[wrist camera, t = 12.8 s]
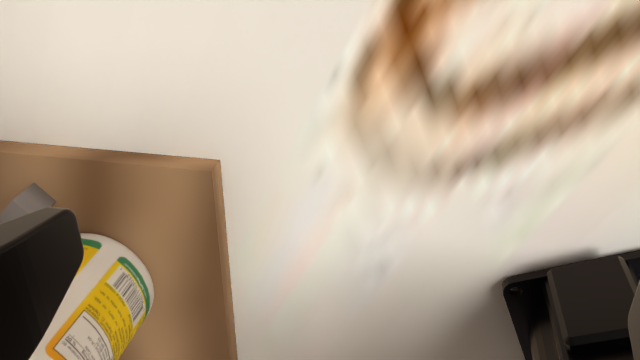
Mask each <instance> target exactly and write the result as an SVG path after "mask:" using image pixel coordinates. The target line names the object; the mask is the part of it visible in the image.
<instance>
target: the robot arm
mask: <svg viewBox="0 0 640 360" xmlns="http://www.w3.org/2000/svg"><path fill="white" fill-rule="evenodd" d="M83 257H84V247H83V243H82V239H81V234H80V230H79V226H78V222H77V218H76V215H75V213H74V212H73V211H72V210H71V209H68V208H59V207H45V208H42V209H40V210H37V211H34V212H31V213H29V214H26V215H23V216H21V217H18V218H15V219H12V220H10V221H7V222H4V223H1V224H0V360H29V359H30V357H31V356H32V354H33V353H34V351H35V350H36V348H37V346H38V345H39V343H40V342H41V340H42V338H43V337H44V335H45V333H46V331H47V329H48V328H49V326H50V324H51V322H52V320H53V318H54V316H55V314H56V312H57V310H58V308H59V306H60V305H61V303H62V301H63V299H64V297H65V295H66V293H67V291H68V289H69V287H70V285H71V283H72V281H73V279H74V277H75V275H76V274H77V272H78V270H79V268H80V266H81V264H82V261H83ZM514 287H518V288H520V290H517V291H512V290H510V289H511V288H514ZM502 288H503V295H504V298H505V301H506V304H507V307H508V310H509V312H510V315H511V318H512V321H513V324H514V327H515V330H516V333H517V336H518V339H519V342H520V344H521V347H522V350H523V353H524V356H525V359H526V360H640V251H635V252H630V253H625V254H620V255H614V256H609V257H604V258H599V259H594V260H589V261H584V262H580V263H575V264H570V265H565V266H560V267H555V268H552V269H547V270H542V271H537V272H532V273H527V274H522V275H517V276H512V277H509V278H507V279H506V280H505V281H504V282H503V284H502Z"/></svg>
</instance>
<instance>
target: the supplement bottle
mask: <svg viewBox="0 0 640 360" xmlns="http://www.w3.org/2000/svg"><path fill="white" fill-rule="evenodd" d="M80 234H81V239H82V243H83V247H84V257H83V261H82V264H81V266H80V268H79V270H78V272H77V274H76V275H75V277H74V279H73V281H72V283H71V285H70V287H69V289H68V291H67V293H66V295H65V297H64V299H63V301H62V303H61V305H60V306H59V308H58V310H57V312H56V314H55V316H54V318H53V320H52V322H51V324H50V326H49V328H48V329H47V331H46V333H45V335H44V337H43V338H42V340H41V342H40V343H39V345H38V346H37V348H36V350H35V351H34V353H33V354H32V356H31V357H30V359H29V360H118V359H119V357H120V356H121V354H122V353H123V351H124V350H125V348H126V347H127V345H128V344H129V342H130V341H131V339H132V338H133V336H134V335H135V333H136V332H137V330H138V329H139V327H140V326H141V324H142V323H143V321H144V319H145V318H146V316H147V315H148V313H149V312H150V310H151V307H152V304H153V300H154V288H153V282H152V279H151V276H150V274H149V272H148V270H147V268H146V266H145V265H144V264H143V262H142V261H141V260H140V259H139V258H138V256H137V255H136V254H134V253H133V252H132V251H131V250H130V249H129V248H127V247H126V246H124V245H123V244H121V243H119V242H117V241H115V240H113V239H111V238H108V237H106V236H102V235H98V234H92V233H80Z"/></svg>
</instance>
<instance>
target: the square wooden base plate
mask: <svg viewBox="0 0 640 360" xmlns="http://www.w3.org/2000/svg"><path fill="white" fill-rule="evenodd" d="M45 207H59V208H68V209H71V210H72V211H73V212H74V213H75V215H76V218H77V222H78V226H79V230H80V233H92V234H98V235H102V236H106V237H108V238H111V239H113V240H115V241H117V242H119V243H121V244H123V245H124V246H126V247H127V248H129V249H130V250H131V251H132V252H133V253H134V254H136V255H137V256H138V258H139V259H140V260H141V261H142V262H143V264H144V265H145V266H146V268H147V270H148V272H149V274H150V276H151V279H152V282H153V288H154V300H153V304H152V307H151V310H150V312H149V313H148V315H147V316H146V318H145V319H144V321H143V323H142V324H141V326H140V327H139V329H138V330H137V332H136V333H135V335H134V336H133V338H132V339H131V341H130V342H129V344H128V345H127V347H126V348H125V350H124V351H123V353H122V354H121V356H120V357H119V359H118V360H237V350H236V338H235V327H234V315H233V304H232V292H231V281H230V269H229V258H228V246H227V235H226V223H225V212H224V200H223V189H222V177H221V166H220V160H212V159H201V158H190V157H178V156H167V155H156V154H145V153H133V152H122V151H111V150H99V149H88V148H77V147H65V146H54V145H43V144H31V143H20V142H9V141H0V224H1V223H4V222H7V221H10V220H12V219H15V218H18V217H21V216H23V215H26V214H29V213H31V212H34V211H37V210H40V209H42V208H45Z"/></svg>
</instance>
